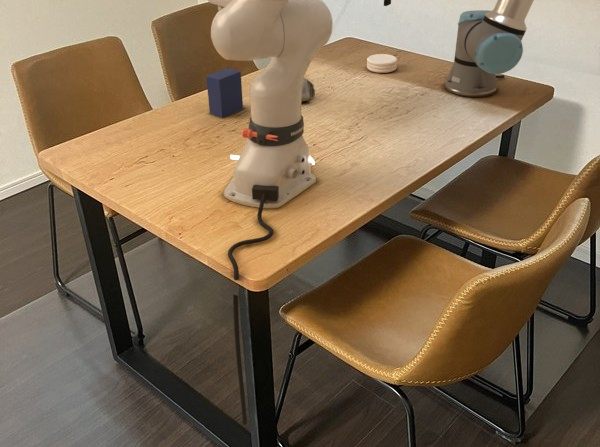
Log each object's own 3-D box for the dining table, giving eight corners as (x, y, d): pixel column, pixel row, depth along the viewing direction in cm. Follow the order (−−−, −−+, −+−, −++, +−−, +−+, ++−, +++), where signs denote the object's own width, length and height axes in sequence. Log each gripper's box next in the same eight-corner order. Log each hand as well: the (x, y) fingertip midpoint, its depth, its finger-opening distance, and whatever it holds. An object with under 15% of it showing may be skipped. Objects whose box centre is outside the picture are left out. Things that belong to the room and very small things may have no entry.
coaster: (364, 64, 210) (364, 54, 208) (392, 63, 211) (393, 52, 209) (369, 74, 202) (370, 63, 200) (399, 72, 203) (400, 62, 201)
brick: (243, 108, 179) (240, 71, 173) (222, 118, 173) (219, 79, 167) (230, 104, 181) (227, 67, 175) (209, 113, 176) (206, 75, 170)
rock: (319, 98, 184) (319, 74, 180) (294, 107, 178) (293, 83, 175) (285, 87, 193) (284, 64, 190) (261, 95, 187) (259, 72, 184)
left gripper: (273, -25, 152) (274, 32, 159) (218, -37, 163) (222, 16, 171) (254, -20, 148) (256, 37, 155) (199, -33, 159) (204, 21, 167)
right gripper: (421, -89, 146) (413, 4, 158) (329, -93, 158) (328, -7, 169) (408, -86, 141) (401, 10, 152) (314, -91, 152) (314, -1, 164)
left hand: (238, 26), depth 163 cm, fingers open, 8 cm apart
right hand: (363, 2), depth 161 cm, fingers open, 13 cm apart
